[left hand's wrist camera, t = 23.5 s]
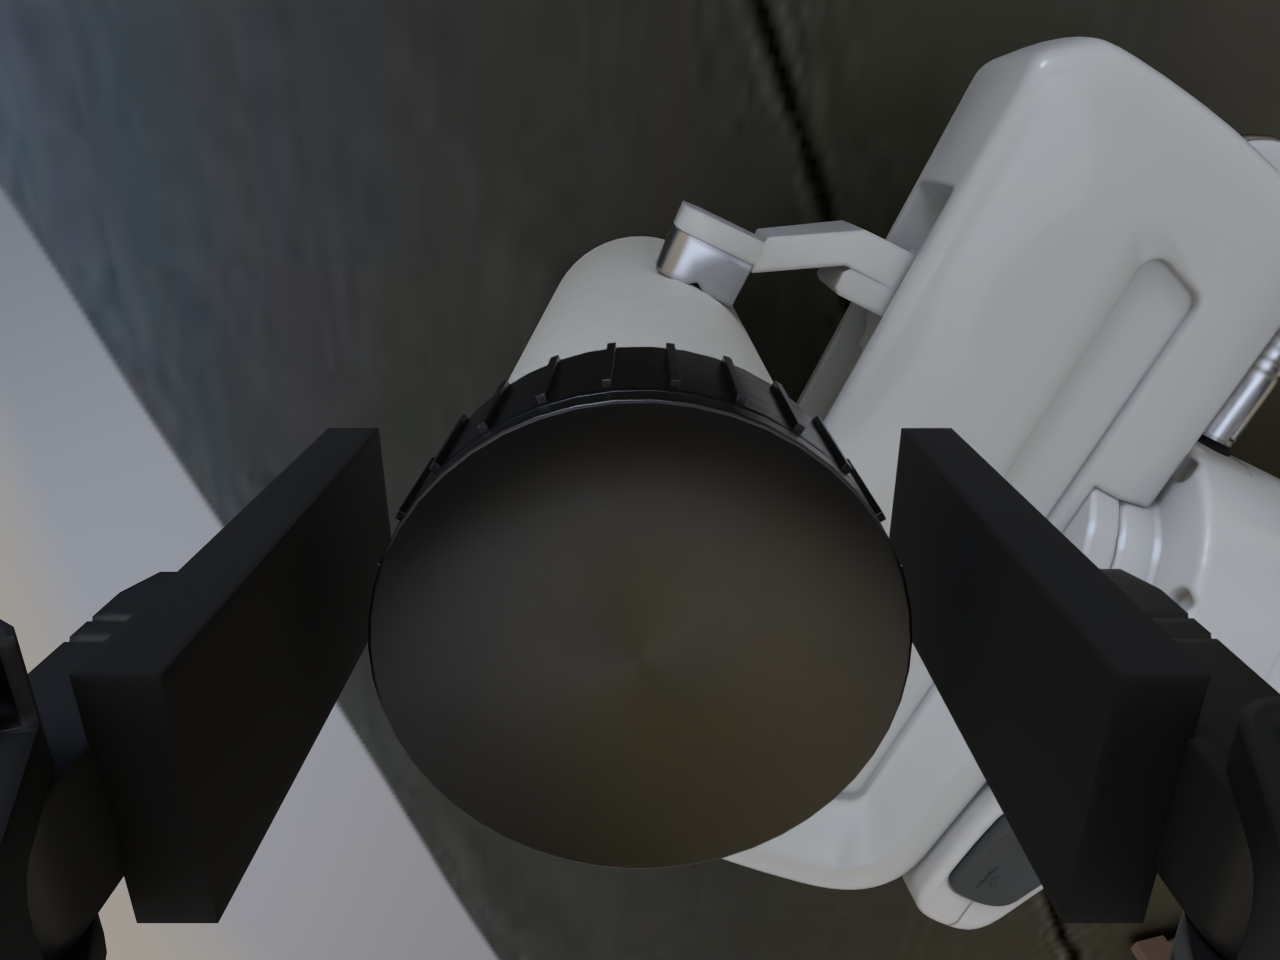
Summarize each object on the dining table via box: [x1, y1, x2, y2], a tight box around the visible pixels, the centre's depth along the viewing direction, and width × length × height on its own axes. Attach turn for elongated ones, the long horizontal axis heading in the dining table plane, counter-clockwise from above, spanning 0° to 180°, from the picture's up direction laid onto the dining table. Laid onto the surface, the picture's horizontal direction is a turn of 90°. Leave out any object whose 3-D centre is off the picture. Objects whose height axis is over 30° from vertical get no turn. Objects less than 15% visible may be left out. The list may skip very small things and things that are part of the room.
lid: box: [368, 343, 913, 869], centre depth 11 cm, size 6×6×2 cm
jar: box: [508, 236, 773, 385], centre depth 19 cm, size 5×5×16 cm
